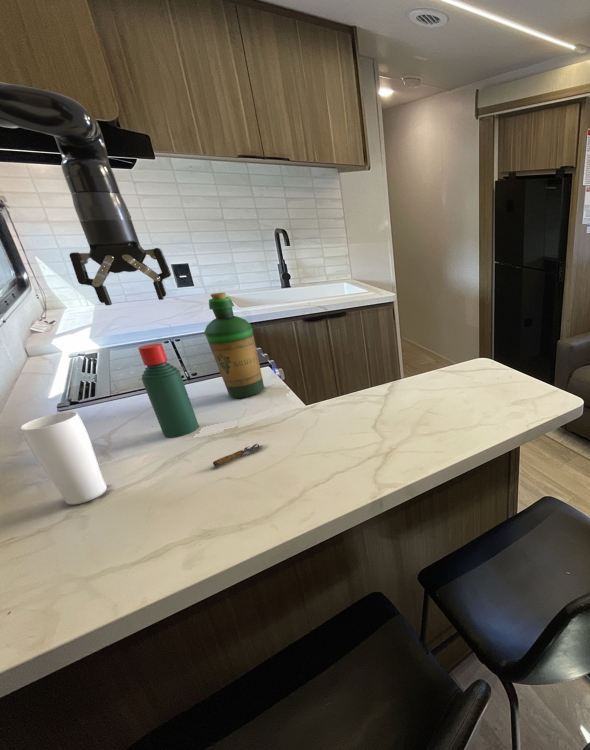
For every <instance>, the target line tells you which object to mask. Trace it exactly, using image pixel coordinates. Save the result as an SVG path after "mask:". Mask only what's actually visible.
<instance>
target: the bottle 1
mask: <svg viewBox="0 0 590 750" xmlns="http://www.w3.org/2000/svg"><path fill="white" fill-rule="evenodd" d="M141 381H142V384H143V387H144V389H145V391H146V394H147V397H148V399H149V401H150V404H151V407H152V409H153V412H154V414H155V417H156V419H157V422H158V424H159V427H160V429H161V432H162V434H163V437H165V438H169V439H171V438H178V437H183V436H185V435H189V434H191V433H193V432H195V431H196V430H198V429H199V428H200V425H199V422H198V419H197V416H196V413H195V411H194V408H193V405H192V402H191V400H190V397H189V394H188V391H187V388H186V386H185V383H184V380H183V377H182V375H181V372H180V370H179V369H178V367H175V366H174V365H172V364H171V363H170V362H169V363H168V361H167V362H164V363H161V364H157V365H151V366H146V367H145V369H144V371H143V373H142V374H141Z"/></svg>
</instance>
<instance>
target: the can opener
mask: <svg viewBox="0 0 590 750" xmlns="http://www.w3.org/2000/svg"><path fill="white" fill-rule="evenodd" d="M262 447H264V444H261V445H260V444H259V443H254V444H253V445H252V446H246V447H244V448H243V449H241V450H238V451H236V452H233V453H231V454H229V455H226V456H223V457H220V458H218V459H216V460H214V461H213V462H212V465H213V466H214V468H215V467H219V466H221V465H224V464H226V463H228V462H230V461H232V460H234V459H236V458H239V457H241V456H243V455H245V453H253V452H255V451H256V452H257V450H260V449H261V448H262Z"/></svg>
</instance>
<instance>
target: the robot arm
mask: <svg viewBox="0 0 590 750" xmlns="http://www.w3.org/2000/svg"><path fill="white" fill-rule="evenodd" d="M0 127H2V128H9V129H18V128H21V129H24V130H28V131H29V130H30V131H33V132H37V133H41V134H44V135H45V134H46V135H50V136H53V138H54V140H55V142H56V145H57V148H58V150H59V153H60V155H61V159H62V160H61V163H60V164H61V165H60V167H61V170H62V174H63V177H64V179H65V183H66V184H67V187H68V190H69V192H70V195H71V198H72V203H73V208H74V211H75V212H76V215H77V219H78V221H79V223H80V226H81V228H82V231H83V233H84V234H83V235H84V236H85V238H86V241H87V244H88V246H89V252H79V251H77V252H76V251H73V252H70V253H69V259H70V261H71V264H72V268H73V270H74V273H75V277H76V280H77V283H78V284H79V285H81V286H83V285H85V286H90V287H92V288H93V289H94V291H95V294H96V296H97V298H98V301H99V303H101V304H104V305H105V306H112V305H113V302H112V299H111V297H110V295H109V292H108V288H107V287H106V285H104V283H105V281H106V279H108V276H109V275H110V274H111V273H113V274H121V273H123V272H127V273H134V272H136V271H140V272H141V273H142V274H144V275H146V276H147V277H149V278H150V279H152V280H153V281H152V284H153V287H154V290H155V293H156V296H157V298H158V301H163V300H164V299H165V297H166V295H167V292H166V288H165V285H164V282H163V281H164V280H165V279H167V278H170V277H171V276H172V273H171V270H170V267H169V265H168V263H167V260H166V258H165V255H164V252H163V250H162V249H161V248H159V247H154V248H151V249H144V248H143V247H142V246H141V243H140V241H139V238H138V235H137V232H136V229H135V226H134V224H133V220H132V215H131V213H130V212H129V209H128V206H127V204H126V202H125V200H124V198H123V196H122V193H121V191H120V187H119V185H118V181H117V179H116V177H115V173H114V172H113V169H112V167H111V165H110V160H109V156H108V151H107V147H106V142H105V140H104V136H103V133H102V130H101V127H100V124H99V122H98V121H97V119H96V118H95V117H94V116H93V115H92V113H91V112H89V110H88V109H87V108H86V107H85V106H84V105H83V104H82V103H80V102H79V101H77V100H75V99H74V98H71V97H69V96H67V95H64V94H61V93H58V92H54V91H50V90H47V89H42V88H37V87H31V86H26V85H21V84H13V83H7V82H4V81H3V82H2V81H0ZM147 256H149V257H150V258H151V259H153V260H156V261H157V264H158V266H159V269H160V273H157V272H156V271H155V270H153V269H152V268H151V267H149V266H148V265H147V264H145V263H144V260H145V259H146V257H147ZM89 259H90V260H92V261H93V262H95V263H96V264H98V265H99V268H98V270H97V271H96V274H95V276H94V277H93V278H90V276H89V273H88V270H87V268H86V265H87V264H88V263H89Z"/></svg>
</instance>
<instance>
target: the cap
mask: <svg viewBox="0 0 590 750" xmlns="http://www.w3.org/2000/svg"><path fill="white" fill-rule="evenodd" d="M137 349H138V352H139V355H140V357H141V360H142V363H143V364H144V366H146V367H147V366H151V365H157V364H161V363H164V362H167V363H168V357H167V354H166V352H165V349H164V346H163V344H162V343H150V344H146V345H145V344H144V345H142V346H139V347H138V348H137Z"/></svg>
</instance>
